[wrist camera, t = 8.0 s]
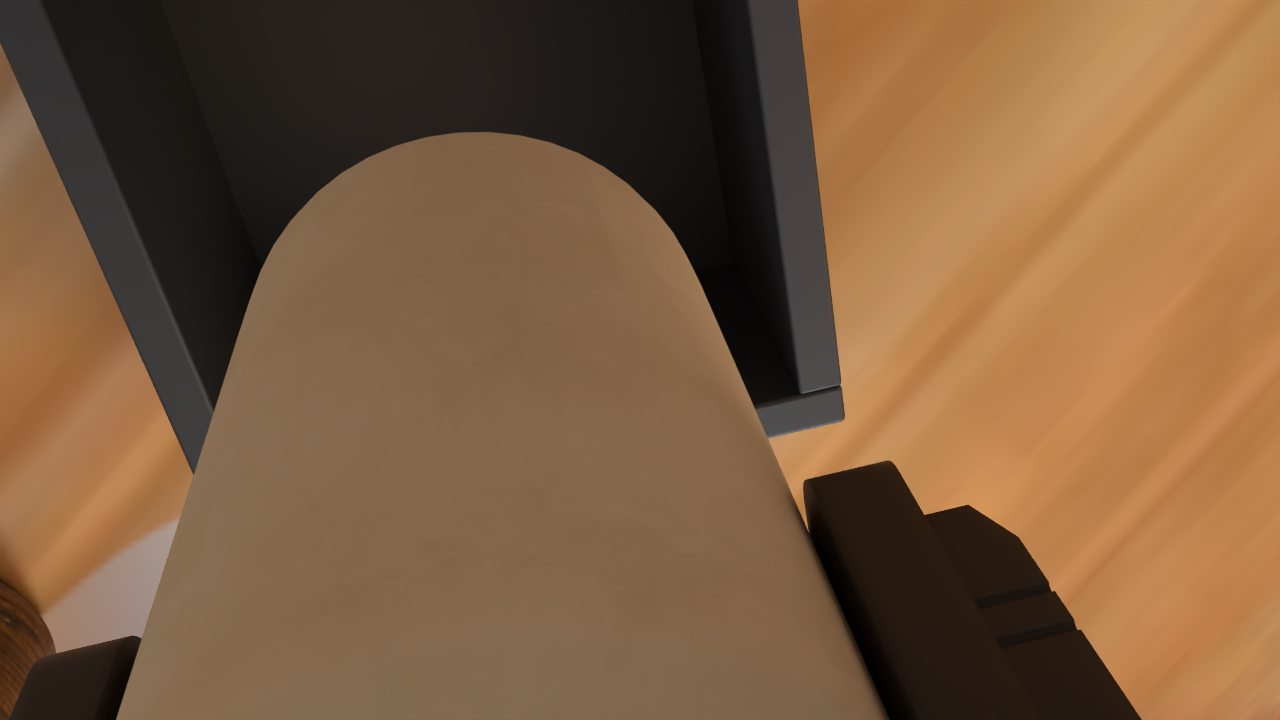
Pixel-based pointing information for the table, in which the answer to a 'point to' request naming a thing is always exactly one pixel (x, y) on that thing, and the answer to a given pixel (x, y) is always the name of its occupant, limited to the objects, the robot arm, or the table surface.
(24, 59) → the bin
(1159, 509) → the table surface
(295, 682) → the candle
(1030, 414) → the table surface
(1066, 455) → the table surface
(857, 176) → the table surface
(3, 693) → the utensil holder
